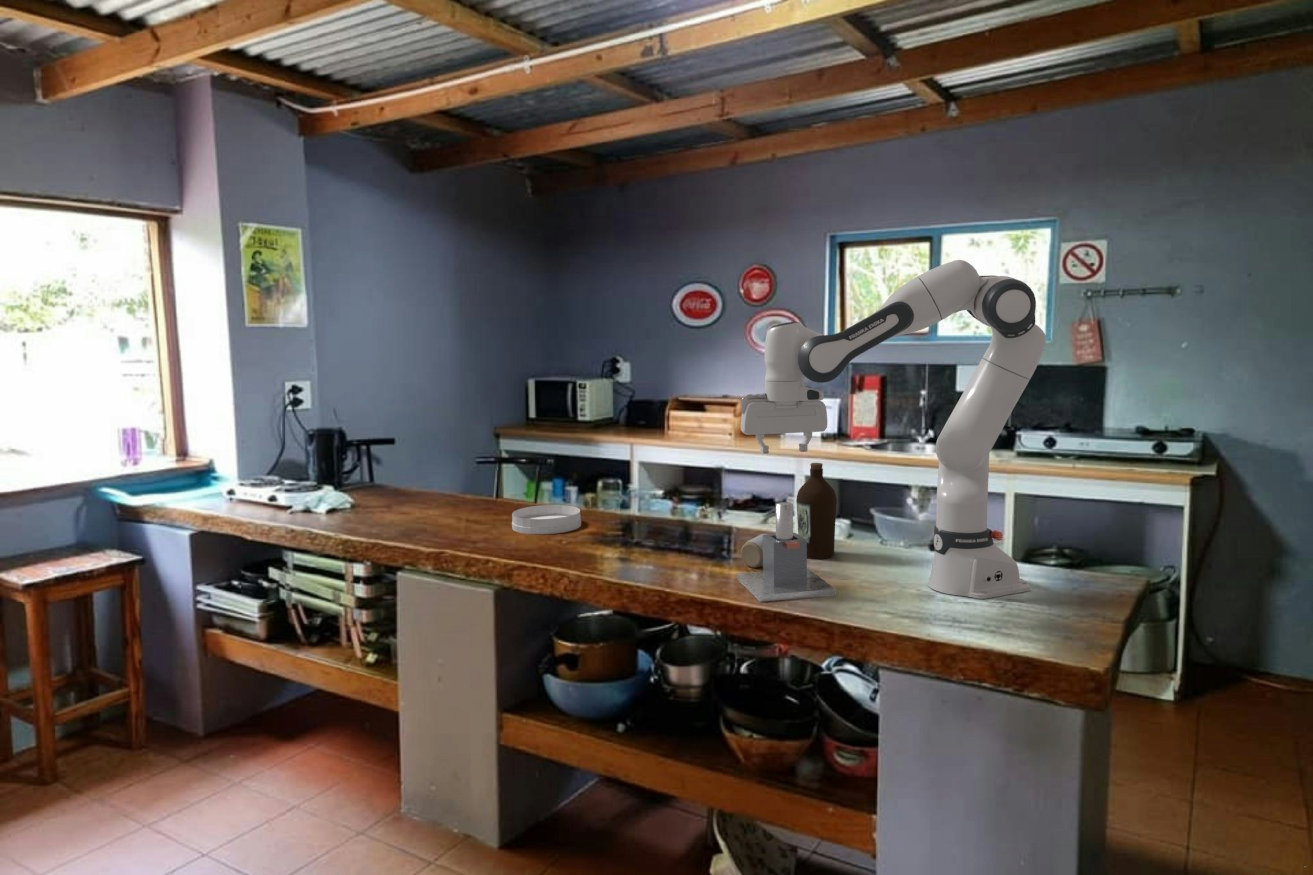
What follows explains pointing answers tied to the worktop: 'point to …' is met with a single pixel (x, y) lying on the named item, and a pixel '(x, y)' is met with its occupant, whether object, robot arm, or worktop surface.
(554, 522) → the dish
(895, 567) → the worktop surface
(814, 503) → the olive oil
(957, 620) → the worktop surface
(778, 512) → the grey green banded cylinder
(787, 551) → the stand base
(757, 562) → the ceramic mug
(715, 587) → the worktop surface
